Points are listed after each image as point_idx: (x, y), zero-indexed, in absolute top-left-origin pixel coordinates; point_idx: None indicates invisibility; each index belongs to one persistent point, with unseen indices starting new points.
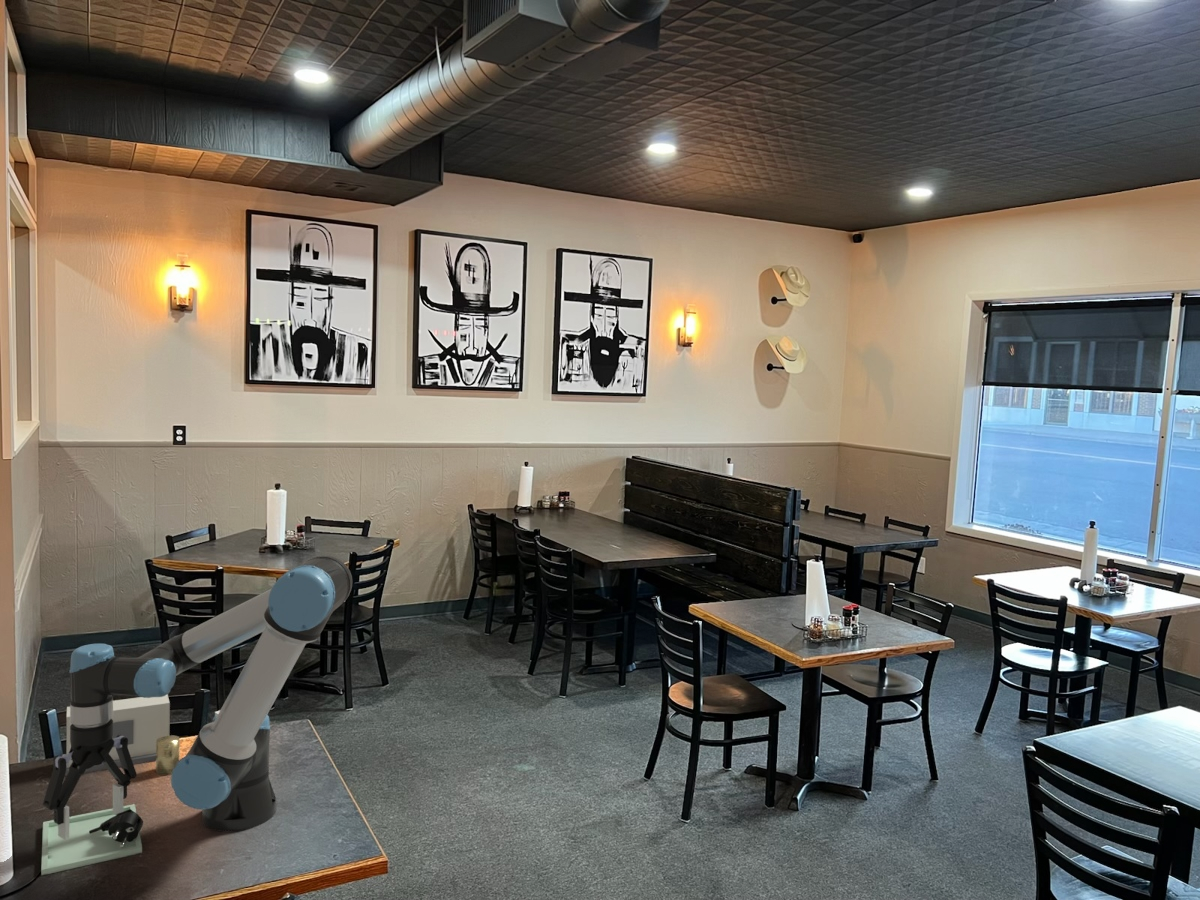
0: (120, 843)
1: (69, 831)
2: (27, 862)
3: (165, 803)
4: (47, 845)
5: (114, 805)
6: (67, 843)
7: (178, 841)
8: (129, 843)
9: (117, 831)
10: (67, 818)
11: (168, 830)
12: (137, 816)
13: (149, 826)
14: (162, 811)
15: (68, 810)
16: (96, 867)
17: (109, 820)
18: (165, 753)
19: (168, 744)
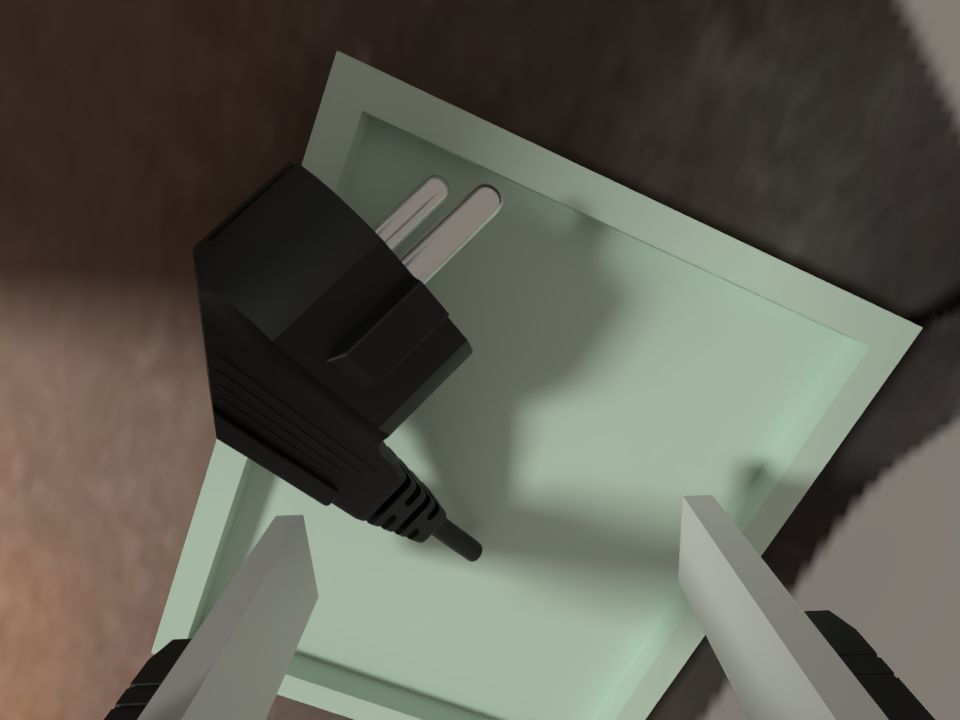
0: None
1: (531, 645)
2: (813, 527)
3: (9, 573)
4: None
5: (287, 633)
6: (606, 539)
7: (83, 35)
8: None
9: (448, 233)
10: (791, 624)
11: (93, 253)
12: (213, 250)
13: (174, 396)
14: (51, 503)
15: (841, 705)
16: (630, 161)
17: (386, 506)
18: None
19: None
